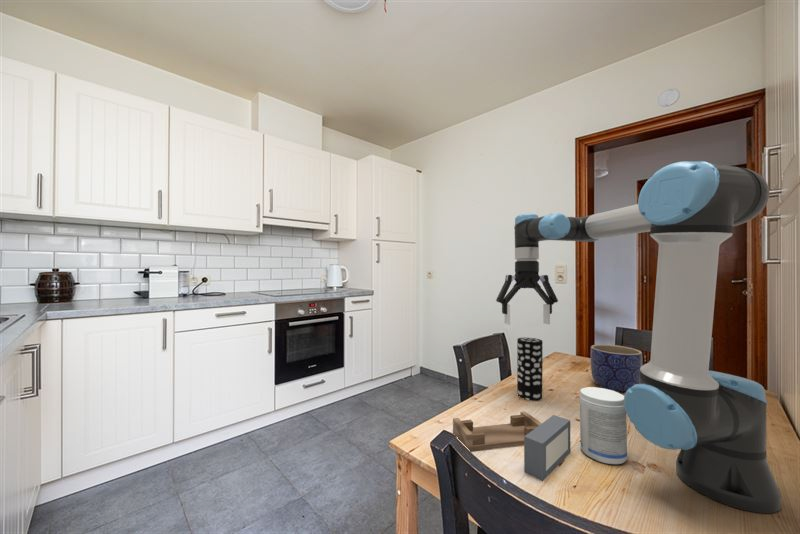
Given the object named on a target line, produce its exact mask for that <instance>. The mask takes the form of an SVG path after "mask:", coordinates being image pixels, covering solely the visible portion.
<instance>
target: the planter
mask: <svg viewBox="0 0 800 534" xmlns="http://www.w3.org/2000/svg"><path fill="white" fill-rule="evenodd" d="M641 366H643V352H642V351H641V350H639V349H637V348H634V347H633V348H632V347H630V346H629V347H628V346H624V345H617V344H615V345H614V344H593V345H591V346H590V373H591V376H592V377H591V378H592V379H593V381H594V382H595V383H596V384H597V385H598V386H599V387H600V388H604V389H608V390H612V391H615V392H618V393H624V394H625V393H626V391H627V390H628V389H629V388H631V387H632V386H633V385H635V384H639V377H640V368H641Z"/></svg>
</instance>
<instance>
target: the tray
mask: <svg viewBox="0 0 800 534" xmlns="http://www.w3.org/2000/svg"><path fill="white" fill-rule="evenodd" d="M519 413H520V414H515V415H510V417H509V419H510V421H509V423H502V424H501V423H499V424H493V425H491V424H490V425H484V426H483V425H482V426H481V425H480V426H474V422H473V420H472V419H465V420H464V419H463V420H461V419H460V418H459V417H453V418H452V435H453V434H455V435H456V436H457V437H458V439H459V440H460V441H461V442H462V443H463V444H464V445H465V446H466V447H467V448H468V449H469V450H470V451H471V452H480V451H488V450H496V449H497V450H498V449H504V448H505V449H506V448H513V447H521V446H524V436H526V435H527V434H528V433H530V432H531V431H532V430H534V429H535V428H536V427H538V426H539V425H540V424H542V423H543V422H541V421H539V420H538V419H537V418H535V417H534V416H532V415H531V414H530V413H528V412H527V411H520V412H519ZM471 452H470V453H471Z"/></svg>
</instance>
